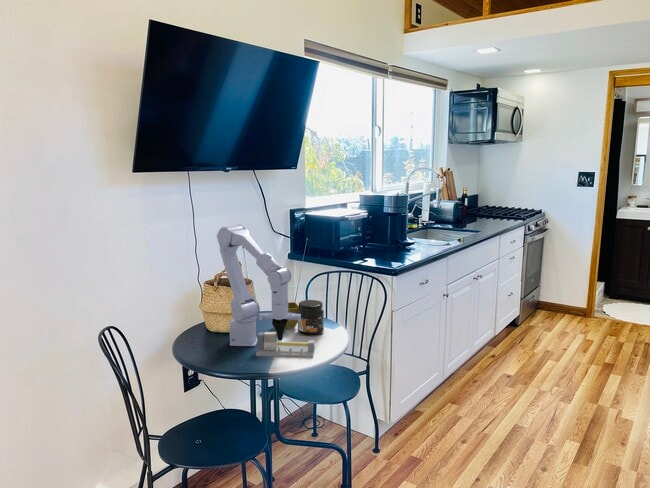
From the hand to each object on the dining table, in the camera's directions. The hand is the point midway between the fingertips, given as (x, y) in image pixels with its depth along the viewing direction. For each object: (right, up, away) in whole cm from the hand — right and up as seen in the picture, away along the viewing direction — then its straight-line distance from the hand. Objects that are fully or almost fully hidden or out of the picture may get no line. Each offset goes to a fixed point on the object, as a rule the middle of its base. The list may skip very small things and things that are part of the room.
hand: (280, 339), depth 174 cm
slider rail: (+2, -5, +1) cm, 5 cm away
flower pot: (+1, 0, +27) cm, 27 cm away
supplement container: (+10, -1, +21) cm, 23 cm away
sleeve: (-3, -3, +1) cm, 5 cm away
